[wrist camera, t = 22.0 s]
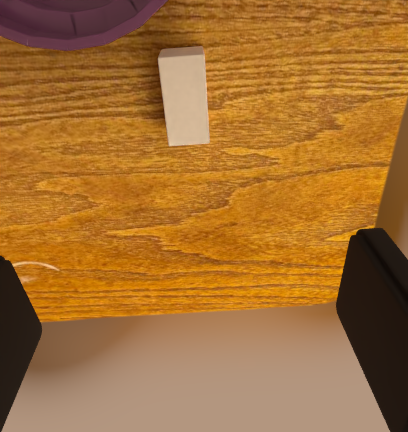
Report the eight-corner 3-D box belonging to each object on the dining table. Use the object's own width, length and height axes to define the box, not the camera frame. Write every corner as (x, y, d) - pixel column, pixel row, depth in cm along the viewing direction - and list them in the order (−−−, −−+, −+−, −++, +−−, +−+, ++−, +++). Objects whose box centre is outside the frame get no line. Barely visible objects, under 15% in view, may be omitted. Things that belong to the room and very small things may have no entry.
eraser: (160, 48, 25) (157, 57, 22) (202, 45, 25) (204, 54, 22) (170, 129, 28) (168, 146, 25) (207, 127, 28) (209, 143, 25)
